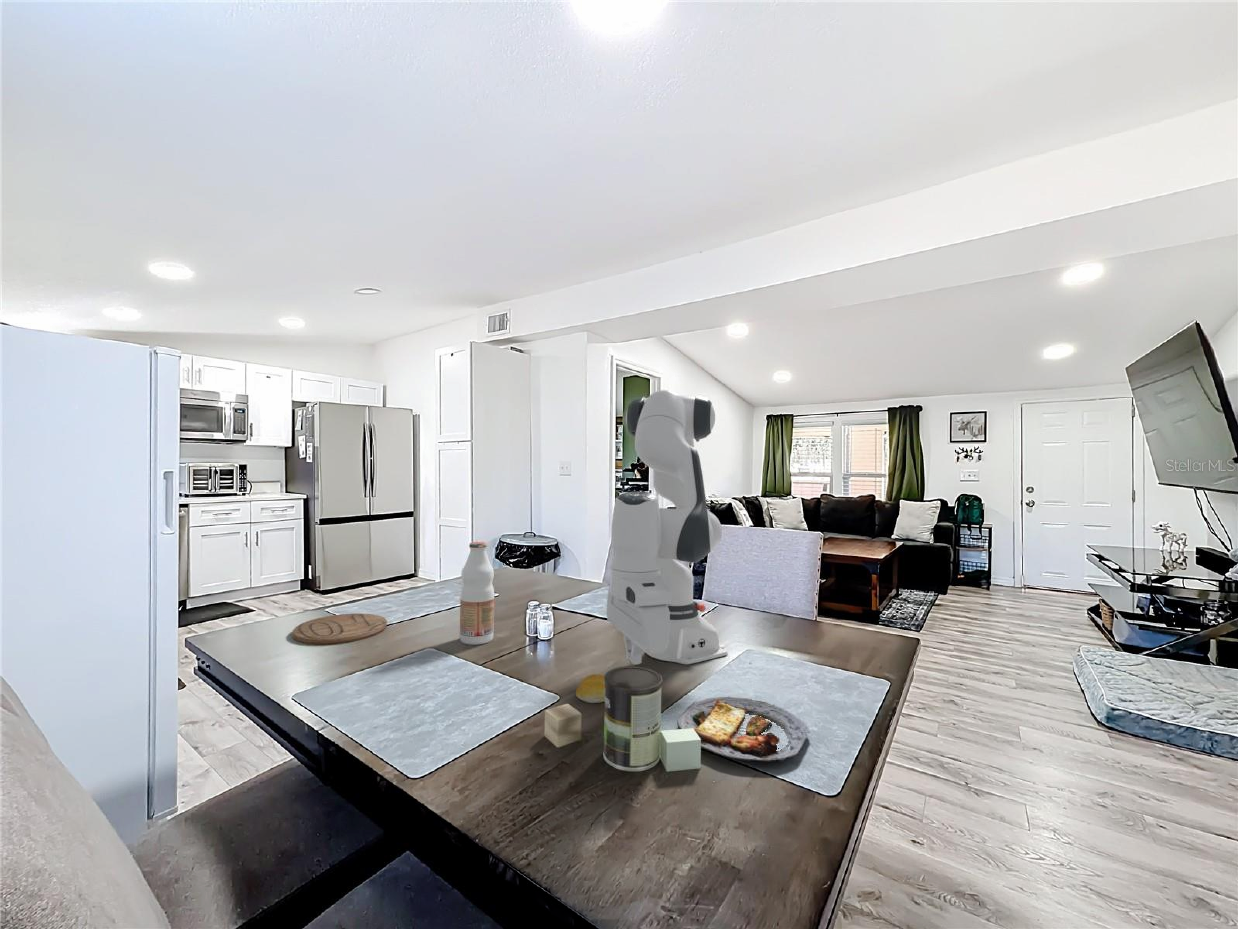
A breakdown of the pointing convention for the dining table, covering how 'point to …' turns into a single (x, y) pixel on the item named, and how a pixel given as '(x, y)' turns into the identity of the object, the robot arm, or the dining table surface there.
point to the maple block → (562, 725)
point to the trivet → (339, 629)
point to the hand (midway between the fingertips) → (633, 661)
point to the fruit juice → (477, 597)
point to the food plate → (725, 718)
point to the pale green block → (680, 749)
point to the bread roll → (592, 689)
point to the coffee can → (632, 718)
